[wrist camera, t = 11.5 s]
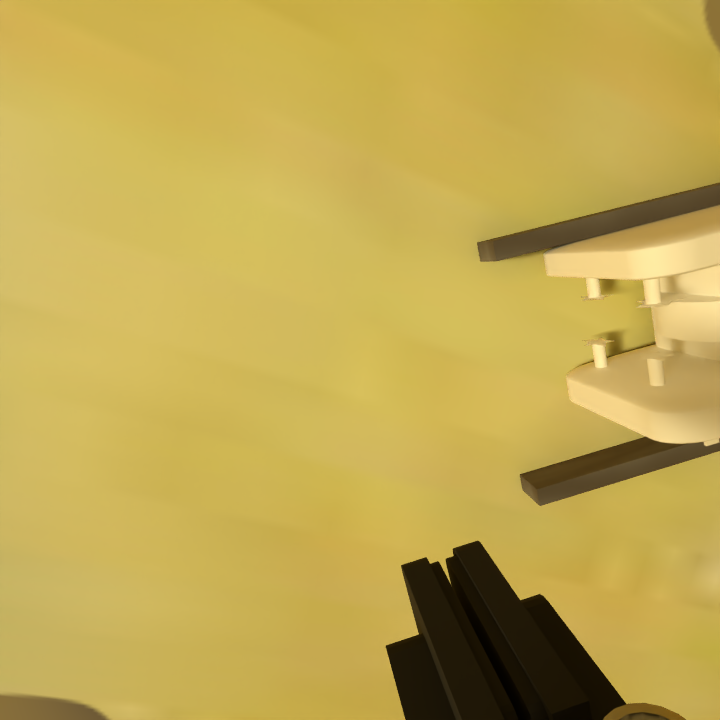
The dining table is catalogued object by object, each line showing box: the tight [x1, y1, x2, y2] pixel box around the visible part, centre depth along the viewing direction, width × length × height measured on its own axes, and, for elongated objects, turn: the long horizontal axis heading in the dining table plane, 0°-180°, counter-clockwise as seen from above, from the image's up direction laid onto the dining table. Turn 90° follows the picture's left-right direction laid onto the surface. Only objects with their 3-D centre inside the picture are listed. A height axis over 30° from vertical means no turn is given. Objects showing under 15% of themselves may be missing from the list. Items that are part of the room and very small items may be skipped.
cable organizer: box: [543, 205, 720, 446], centre depth 30 cm, size 15×11×12 cm
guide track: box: [477, 183, 720, 506], centre depth 33 cm, size 20×21×6 cm
